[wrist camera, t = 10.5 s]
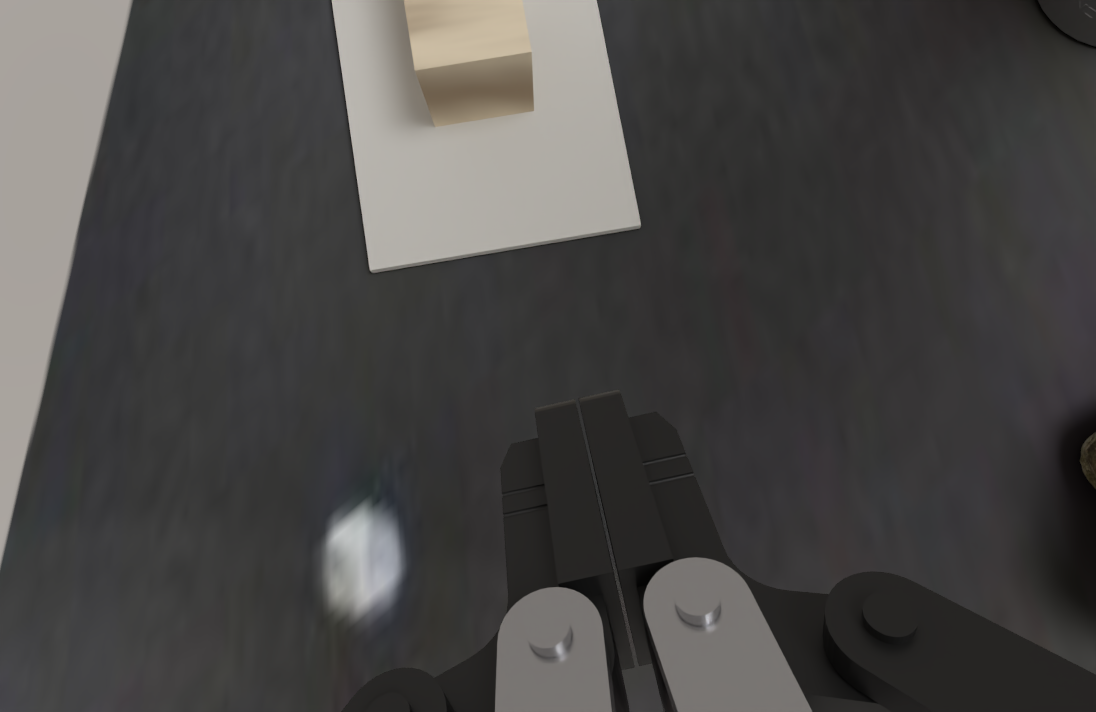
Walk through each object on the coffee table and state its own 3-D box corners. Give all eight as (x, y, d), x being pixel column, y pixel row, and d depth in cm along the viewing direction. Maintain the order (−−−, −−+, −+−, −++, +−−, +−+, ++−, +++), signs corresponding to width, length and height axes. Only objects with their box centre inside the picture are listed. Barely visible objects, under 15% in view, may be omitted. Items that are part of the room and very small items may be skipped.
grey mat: (321, -90, 42) (317, -98, 41) (569, -129, 42) (569, -137, 41) (372, 273, 38) (369, 270, 38) (639, 228, 39) (641, 225, 38)
